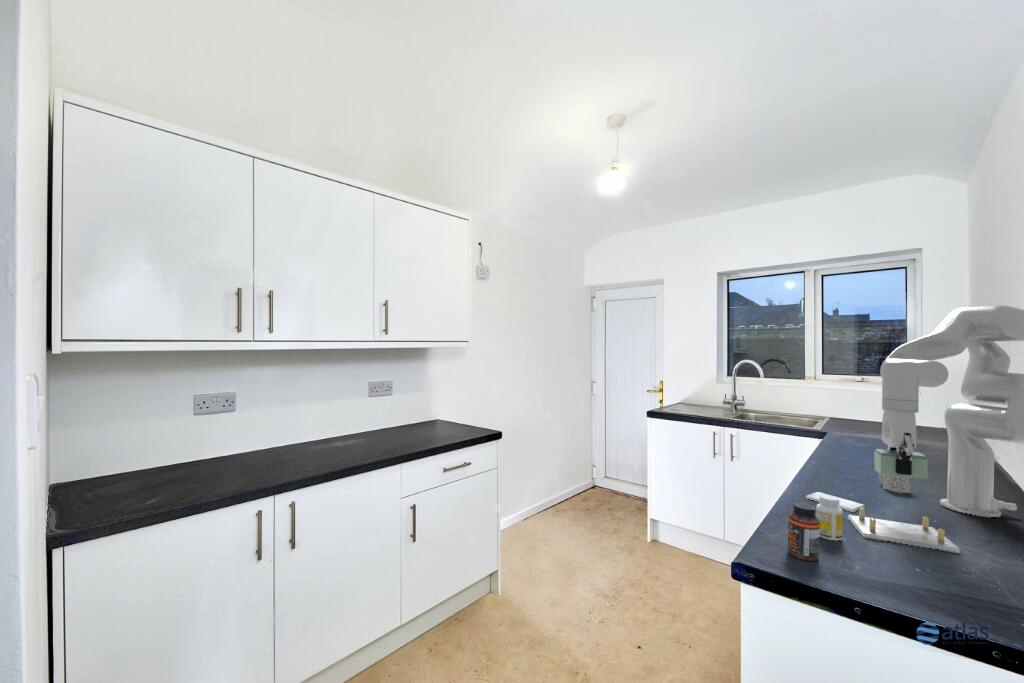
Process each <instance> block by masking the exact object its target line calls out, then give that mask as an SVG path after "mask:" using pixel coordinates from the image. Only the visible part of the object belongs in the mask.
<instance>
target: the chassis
mask: <svg viewBox="0 0 1024 683" xmlns="http://www.w3.org/2000/svg"><path fill="white" fill-rule="evenodd" d="M847 517H848V518H847V519H848V521H849V520H850V521H849V522H850V523H851V525H853V526H854V528H855V529H856V531H858V533H860V535H861V537H863V538H864V539H870V540H875V539H876V541H877V540H878V541H881V540H883V541H882V542H887V541H891V542H890V543H893V542H897V543H896V544H899V543H902V544H901V545H905V544H908V545H907V546H911V545H913V547H917V546H919V547H918V548H923V547H925V548H924V549H929V548H932V549H931V550H935V549H939V550H938V551H941V550H943V552H947V551H948V552H949V553H954V554H960V548H959V546H957V545H956V544H954V542H952V541H951V540H950V539H948V538H947V537H946V536H945V534H946V530H945V529H943V528H937V529H935V527H932V526H929V522H930V518H929V517H928V516H922V521H921V524H912V523H908V522H907V523H906V522H900V521H898V522H897V521H894V520H893V521H892V520H886V519H879V518H873V517H867V516H866V507H865V508H861V507H860V508H859V510H858V515H853V514H848V516H847Z"/></svg>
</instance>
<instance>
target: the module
mask: <svg viewBox="0 0 1024 683" xmlns="http://www.w3.org/2000/svg"><path fill="white" fill-rule="evenodd" d="M903 451H904V450H902V451H901V453H902V452H903ZM873 454H874V455H873V456H874V457H873V460H874V461H873V462H874V463H873V464H874V468H873V469H874V470H873V471H875V472H876V473H878V475H879V474H881V475H889V476H900V477H910V479H911V478H913V479H922V480H929V460H928V458H927V456H926V455H925V454H923V453H921V452H918V451H914V452H913V453H912V454H913V455H912V474H911V475H904V474H897V473H896V459H898V458H897V451H895V450H888V449H882V448H879V449H878V448H875V451H874V453H873Z"/></svg>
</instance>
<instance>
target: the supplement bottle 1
mask: <svg viewBox="0 0 1024 683" xmlns="http://www.w3.org/2000/svg"><path fill="white" fill-rule="evenodd" d="M787 522H788V527H787V551H788V553H789V555H791V556H793V557H794V558H796V559H799V560H802V561H809V562H814V561H817V560H819V557H820V539H821V537H820V521H819V519H818V518H817V517H816V507H814V506H813V505H811V504H808V503H803V502H795V503H793V511H791V512H789V514H788V520H787Z"/></svg>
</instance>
